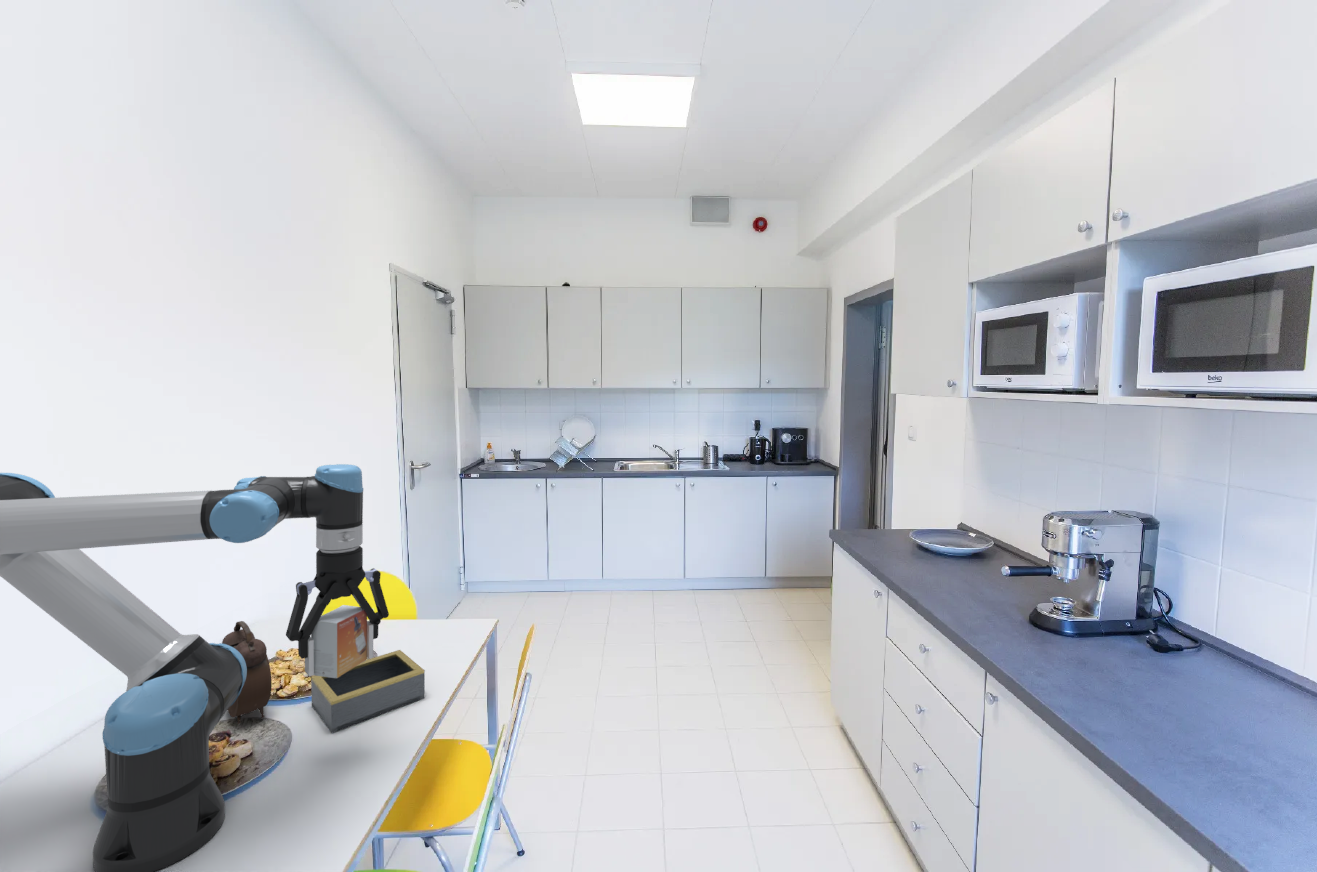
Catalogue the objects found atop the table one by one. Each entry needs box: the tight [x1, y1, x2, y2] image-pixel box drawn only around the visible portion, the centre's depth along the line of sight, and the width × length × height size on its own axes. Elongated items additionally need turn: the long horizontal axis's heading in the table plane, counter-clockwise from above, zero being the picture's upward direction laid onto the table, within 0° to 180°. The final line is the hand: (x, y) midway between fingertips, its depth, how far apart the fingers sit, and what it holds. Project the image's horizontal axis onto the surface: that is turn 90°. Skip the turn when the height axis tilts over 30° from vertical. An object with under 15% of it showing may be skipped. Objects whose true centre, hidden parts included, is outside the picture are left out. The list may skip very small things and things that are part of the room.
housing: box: [310, 649, 426, 734], centre depth 124 cm, size 19×14×7 cm
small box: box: [310, 604, 368, 678], centre depth 104 cm, size 8×6×10 cm
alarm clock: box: [221, 620, 273, 725], centre depth 118 cm, size 14×7×20 cm, turn 50°
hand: (339, 664), depth 104 cm, fingers closed on small box, 9 cm apart
